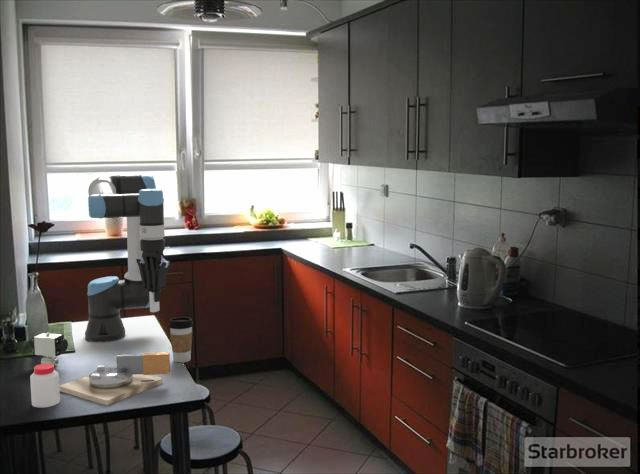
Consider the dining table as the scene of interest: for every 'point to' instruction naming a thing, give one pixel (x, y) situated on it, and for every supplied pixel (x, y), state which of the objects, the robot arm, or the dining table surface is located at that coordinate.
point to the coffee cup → (181, 338)
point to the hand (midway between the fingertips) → (154, 311)
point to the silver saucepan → (129, 369)
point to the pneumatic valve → (49, 347)
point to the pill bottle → (45, 386)
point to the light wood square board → (112, 394)
